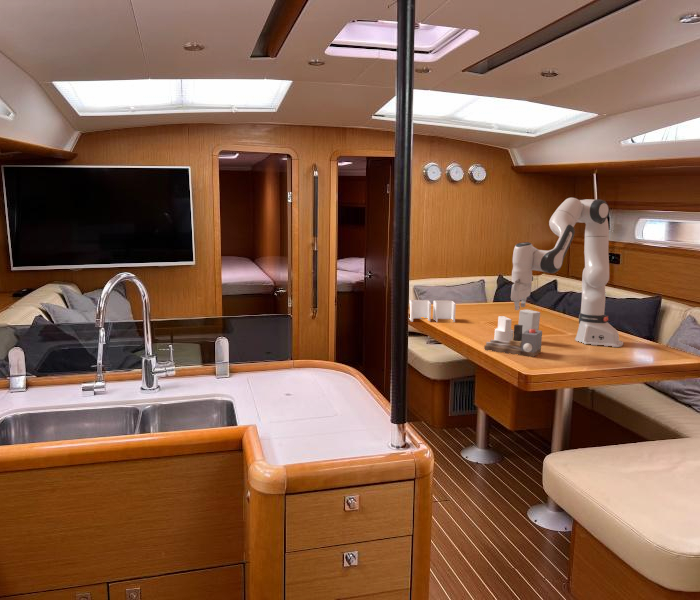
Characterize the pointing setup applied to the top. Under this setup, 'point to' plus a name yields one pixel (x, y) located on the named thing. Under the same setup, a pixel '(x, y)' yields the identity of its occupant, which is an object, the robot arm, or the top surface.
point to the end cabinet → (531, 341)
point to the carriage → (517, 336)
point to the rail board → (507, 348)
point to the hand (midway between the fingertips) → (520, 308)
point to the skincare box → (529, 320)
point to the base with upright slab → (503, 329)
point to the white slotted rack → (439, 309)
